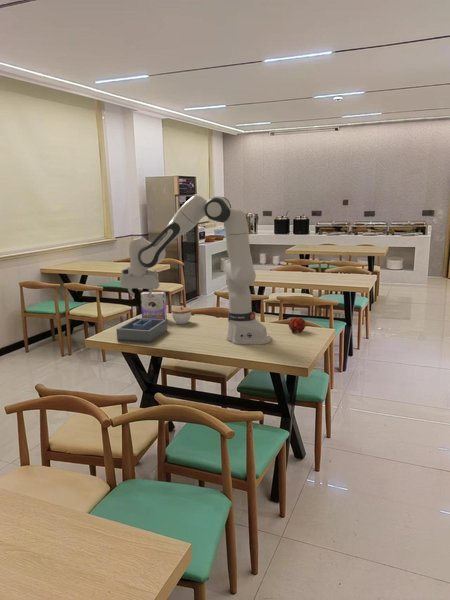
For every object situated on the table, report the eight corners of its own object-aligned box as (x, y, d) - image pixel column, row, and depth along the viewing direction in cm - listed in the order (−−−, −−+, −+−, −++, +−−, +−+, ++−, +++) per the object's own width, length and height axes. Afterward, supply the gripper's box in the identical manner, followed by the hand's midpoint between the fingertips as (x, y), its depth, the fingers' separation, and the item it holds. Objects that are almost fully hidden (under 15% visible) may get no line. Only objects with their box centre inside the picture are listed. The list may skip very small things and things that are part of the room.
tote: (152, 331, 249) (151, 320, 247) (144, 336, 239) (143, 325, 238) (141, 330, 250) (141, 319, 249) (133, 335, 241) (132, 324, 240)
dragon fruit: (301, 331, 253) (295, 340, 243) (288, 321, 254) (282, 330, 244) (310, 320, 249) (304, 329, 238) (297, 310, 250) (291, 319, 239)
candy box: (167, 318, 277) (165, 291, 274) (164, 321, 272) (163, 293, 268) (144, 318, 279) (142, 291, 275) (141, 321, 273) (140, 293, 269)
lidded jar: (171, 320, 273) (171, 305, 271) (190, 319, 274) (189, 304, 272) (173, 325, 262) (172, 309, 260) (192, 324, 264) (191, 308, 262)
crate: (167, 330, 253) (166, 319, 252) (149, 342, 232) (149, 331, 231) (136, 328, 258) (136, 317, 257) (117, 340, 237) (116, 328, 236)
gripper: (160, 269, 238) (162, 296, 241) (124, 268, 243) (126, 294, 246) (155, 271, 232) (157, 299, 235) (118, 270, 237) (120, 297, 240)
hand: (140, 296), depth 241 cm, fingers open, 8 cm apart
